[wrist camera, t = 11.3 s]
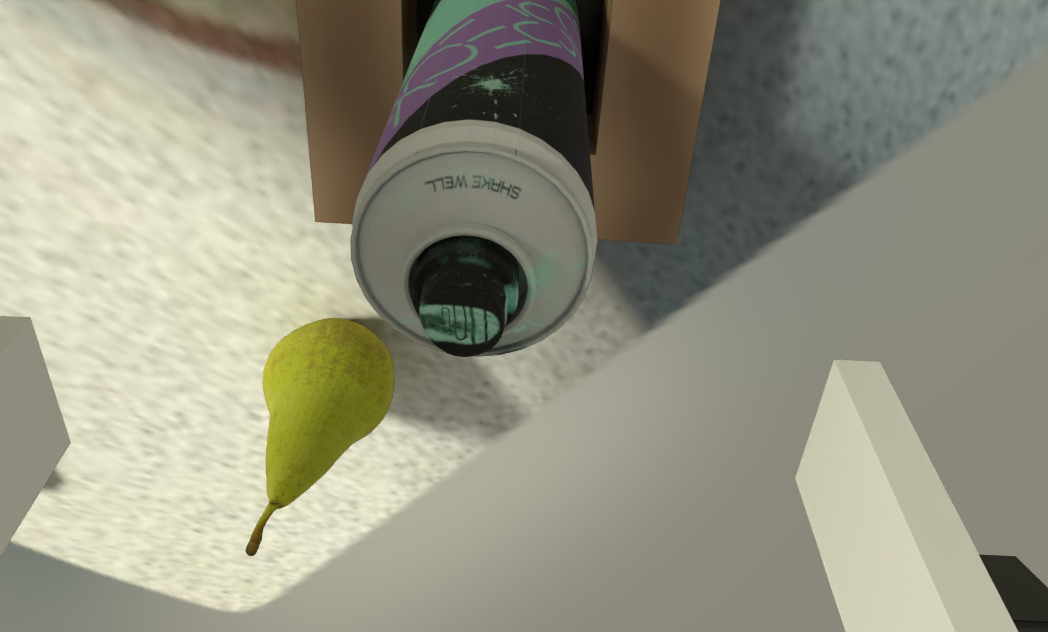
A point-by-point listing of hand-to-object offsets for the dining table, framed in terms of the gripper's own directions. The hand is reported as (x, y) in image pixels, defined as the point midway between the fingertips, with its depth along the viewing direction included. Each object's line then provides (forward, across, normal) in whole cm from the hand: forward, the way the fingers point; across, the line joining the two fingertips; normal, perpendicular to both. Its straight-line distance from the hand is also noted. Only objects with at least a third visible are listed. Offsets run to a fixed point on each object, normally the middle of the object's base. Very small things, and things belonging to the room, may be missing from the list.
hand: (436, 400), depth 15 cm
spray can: (+23, +1, 0) cm, 23 cm away
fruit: (+23, -6, -16) cm, 28 cm away
